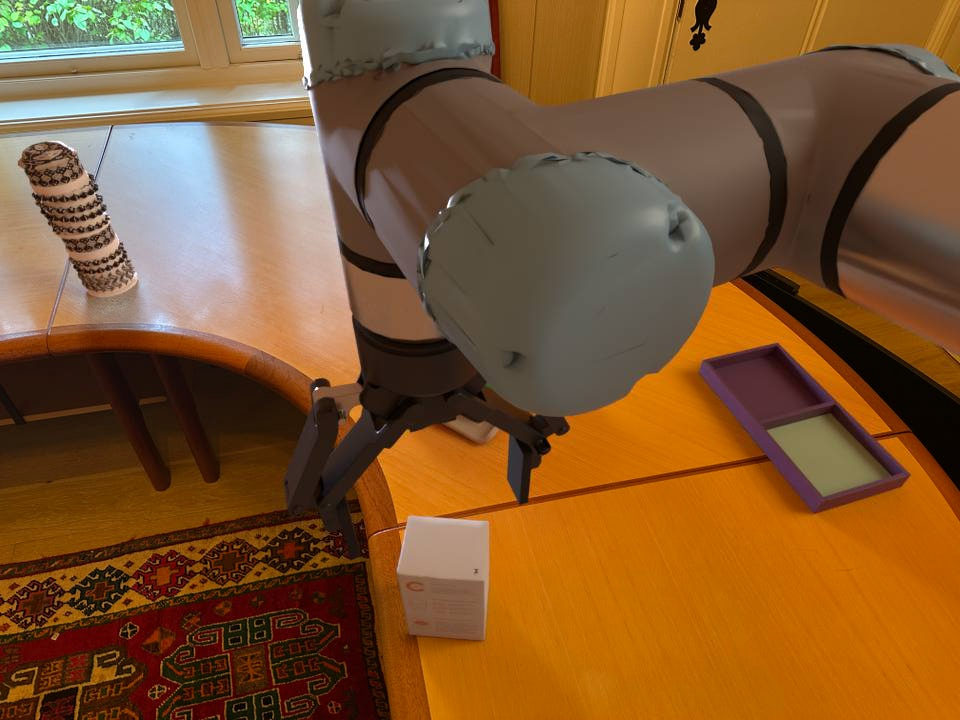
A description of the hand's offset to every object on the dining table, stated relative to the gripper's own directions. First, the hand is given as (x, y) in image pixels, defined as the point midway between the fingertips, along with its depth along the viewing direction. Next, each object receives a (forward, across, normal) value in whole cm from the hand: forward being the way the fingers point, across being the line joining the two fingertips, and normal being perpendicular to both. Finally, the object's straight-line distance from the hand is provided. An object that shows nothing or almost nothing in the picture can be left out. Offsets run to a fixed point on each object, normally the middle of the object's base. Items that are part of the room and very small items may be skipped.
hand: (437, 516), depth 48 cm
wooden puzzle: (+22, -14, -34) cm, 43 cm away
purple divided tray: (+22, -54, -11) cm, 59 cm away
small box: (+22, -1, -2) cm, 23 cm away
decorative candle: (+22, +37, -80) cm, 91 cm away
